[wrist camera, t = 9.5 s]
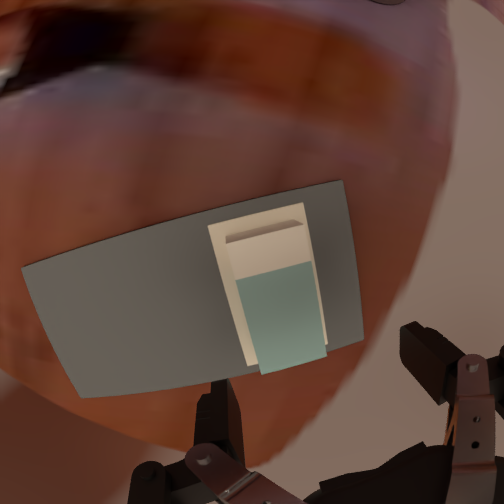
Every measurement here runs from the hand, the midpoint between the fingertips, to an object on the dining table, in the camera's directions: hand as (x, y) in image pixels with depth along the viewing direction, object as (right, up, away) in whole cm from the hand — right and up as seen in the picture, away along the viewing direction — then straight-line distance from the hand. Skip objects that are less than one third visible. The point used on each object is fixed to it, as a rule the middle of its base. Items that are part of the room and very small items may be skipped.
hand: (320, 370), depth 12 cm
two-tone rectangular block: (-1, +2, +10) cm, 11 cm away
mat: (-8, +1, +11) cm, 14 cm away
